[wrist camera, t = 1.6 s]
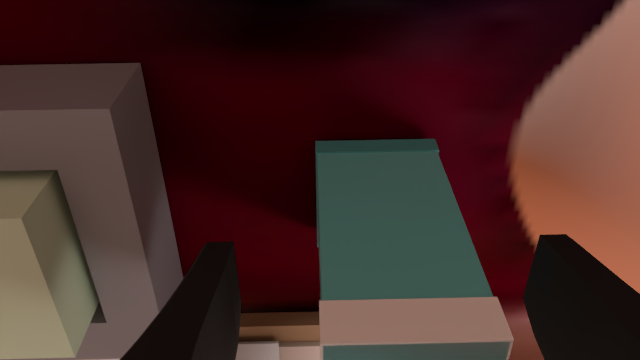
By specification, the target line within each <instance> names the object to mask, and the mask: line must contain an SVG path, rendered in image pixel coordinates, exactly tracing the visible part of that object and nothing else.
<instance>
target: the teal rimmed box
mask: <svg viewBox="0 0 640 360" xmlns="http://www.w3.org/2000/svg"><path fill="white" fill-rule="evenodd" d="M315 152H316V209H317V247H319V270H320V301H319V328H320V360H509V356H510V353H511V349H512V345H513V342H514V338H513V336H512V333H511V331H510V328H509V325H508V323H507V320H506V318H505V315H504V313H503V310H502V308H501V305H500V303H499V300H498V298H497V297H493V295H492V292H491V290H490V287H489V284H488V282H487V279H486V277H485V274H484V271H483V269H482V266H481V264H480V261H479V259H478V256H477V253H476V251H475V248H474V246H473V243H472V240H471V238H470V235H469V233H468V230H467V227H466V225H465V222H464V220H463V217H462V215H461V212H460V209H459V207H458V204H457V202H456V199H455V196H454V194H453V191H452V189H451V186H450V183H449V181H448V178H447V176H446V173H445V171H444V168H443V165H442V163H441V160H440V158H439V148H438V146H437V143H436V140H435V139H397V140H342V141H315Z"/></svg>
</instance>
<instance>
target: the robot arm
mask: <svg viewBox="0 0 640 360" xmlns="http://www.w3.org/2000/svg"><path fill="white" fill-rule="evenodd" d="M523 299H524V302H525V306H526V310H527V313H528V317H529V320H530V323H531V326H532V330H533V333H534V336H535V338H536V341H537V343H538V345H539V348H540V350H541V352H542V354H543V357H544V359H545V360H640V294H639V293H638V292H636V291H635V290H634V289H633V288H631V287H630V286H629V285H628V284H626V283H625V282H624V281H623V280H621V279H620V278H619V277H618V276H617V275H615V274H614V273H613V272H612V271H610V270H609V269H608V268H607V267H606V266H604V265H603V264H602V263H600V261H598V260H597V259H596V258H595V257H593V256H592V255H591V254H590V253H588V252H587V251H586V250H585V249H584V248H582V247H581V246H580V245H579V244H577V243H576V242H575V241H574V240H573V239H571V238H570V237H568V236H567V235H566V234H561V235H540V237H539V240H538V244H537V248H536V251H535V255H534V259H533V263H532V266H531V270H530V274H529V277H528V281H527V285H526V288H525V292H524V296H523ZM240 317H241V297H240V289H239V281H238V273H237V265H236V257H235V249H234V242H207V243H206V244H205V245H204V246H203V248H202V249H201V251H200V253H199V255H198V256H197V258H196V260H195V261H194V263H193V264H192V266H191V268H190V269H189V271H188V272H187V274H186V275H185V277H184V278H183V280H182V281H181V283H180V284H179V286H178V287H177V289H176V290H175V291H174V293H173V294H172V296H171V297H170V298H169V300H168V301H167V303H166V304H165V306H164V307H163V308H162V310H161V311H160V312H159V313H158V315H157V316H156V317H155V318H154V320H153V321H152V322H151V323H150V325H149V326H148V327H147V328H146V330H145V331H144V332H143V333H142V335H141V336H140V337H139V338H138V340H137V341H136V342H135V343H134V344H133V345H132V346H131V348H130V349H129V350H128V351H127V352H126V353H125V354H124V355H123V357H122V358H121V359H120V360H235V359H236V354H237V348H238V342H239V330H240Z"/></svg>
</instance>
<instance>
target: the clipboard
mask: <svg viewBox="0 0 640 360" xmlns="http://www.w3.org/2000/svg"><path fill="white" fill-rule="evenodd" d="M80 360H120V359H80ZM235 360H320V328H319V312H280V313H241V317H240V330H239V342H238V348H237V354H236V359H235Z"/></svg>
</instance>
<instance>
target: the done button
mask: <svg viewBox="0 0 640 360" xmlns="http://www.w3.org/2000/svg"><path fill="white" fill-rule="evenodd" d="M98 303H99V297H98V294H97V291H96V288H95V285H94V282H93V279H92V276H91V273H90V270H89V266H88V263H87V260H86V257H85V254H84V251H83V248H82V245H81V242H80V239H79V236H78V232H77V229H76V226H75V223H74V220H73V217H72V214H71V211H70V208H69V205H68V201H67V198H66V195H65V192H64V189H63V186H62V183H61V180H60V177H59V174H58V170H29V171H0V359H35V358H75V357H76V355H77V352H78V350H79V348H80V345H81V343H82V341H83V338H84V336H85V334H86V331H87V329H88V327H89V324H90V322H91V320H92V317H93V315H94V313H95V310H96V308H97V306H98Z"/></svg>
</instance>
